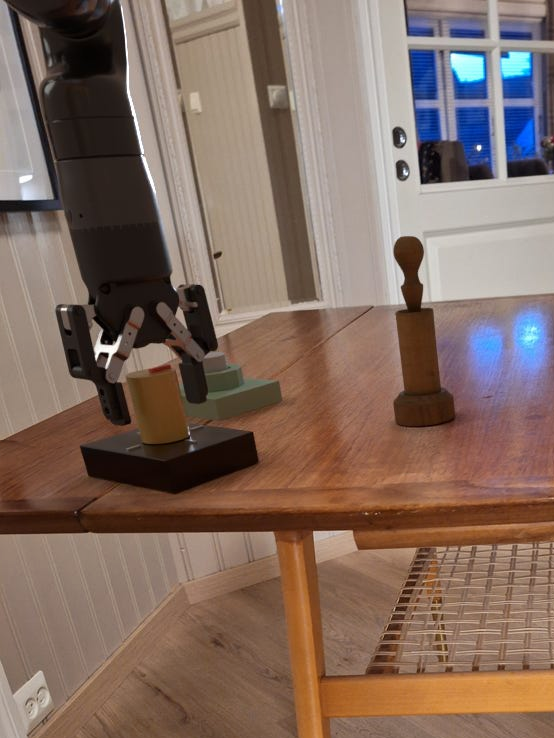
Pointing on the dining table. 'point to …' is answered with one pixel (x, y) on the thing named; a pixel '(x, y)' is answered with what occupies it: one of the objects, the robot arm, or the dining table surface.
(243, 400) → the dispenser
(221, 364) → the grey push button
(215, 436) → the panel
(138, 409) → the lock knob
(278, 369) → the dining table surface
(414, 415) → the mortar and pestle
